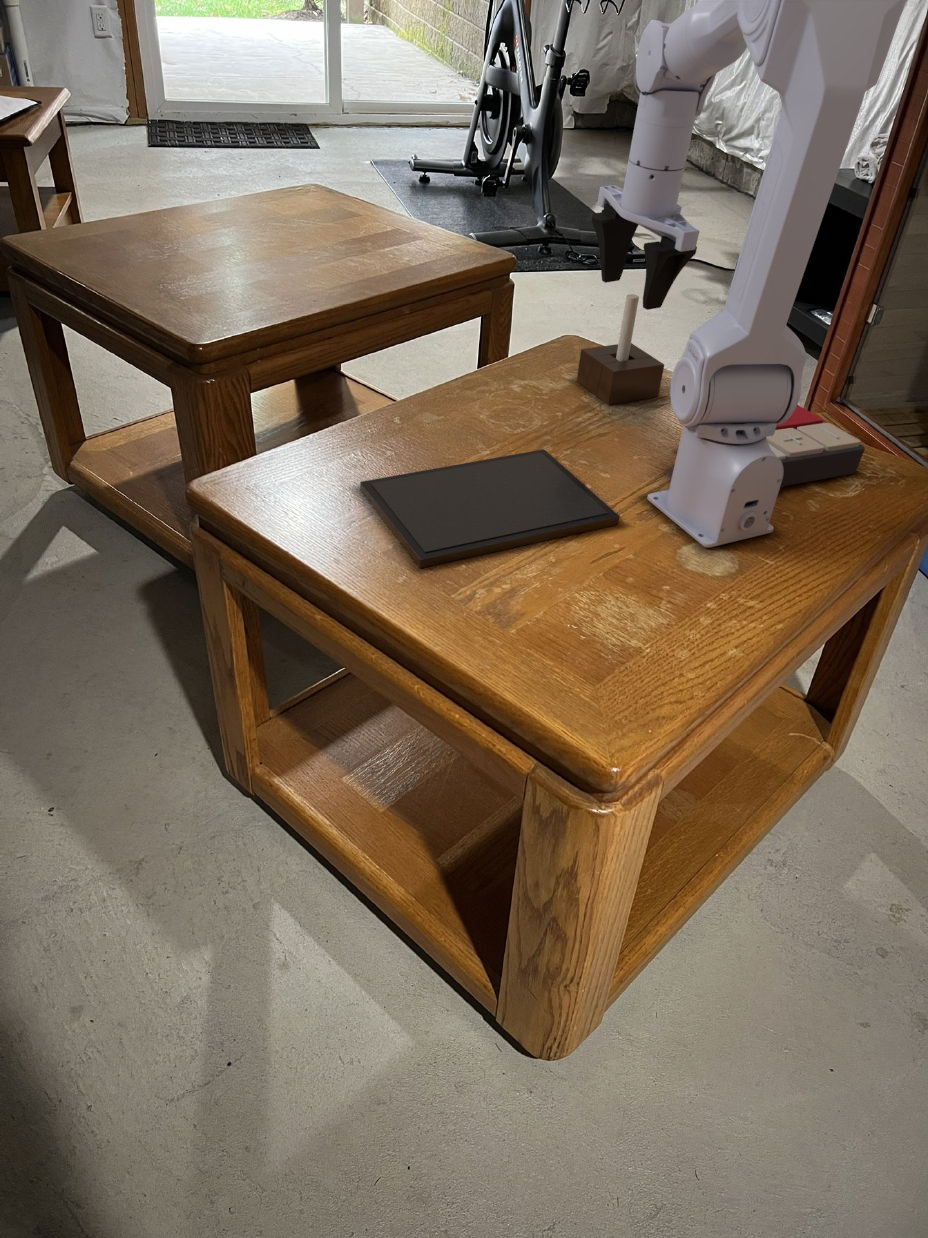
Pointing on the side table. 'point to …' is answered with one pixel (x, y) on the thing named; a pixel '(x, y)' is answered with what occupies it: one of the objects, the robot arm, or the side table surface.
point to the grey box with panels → (813, 449)
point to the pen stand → (619, 374)
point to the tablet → (485, 506)
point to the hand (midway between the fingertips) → (630, 293)
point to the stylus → (627, 327)
